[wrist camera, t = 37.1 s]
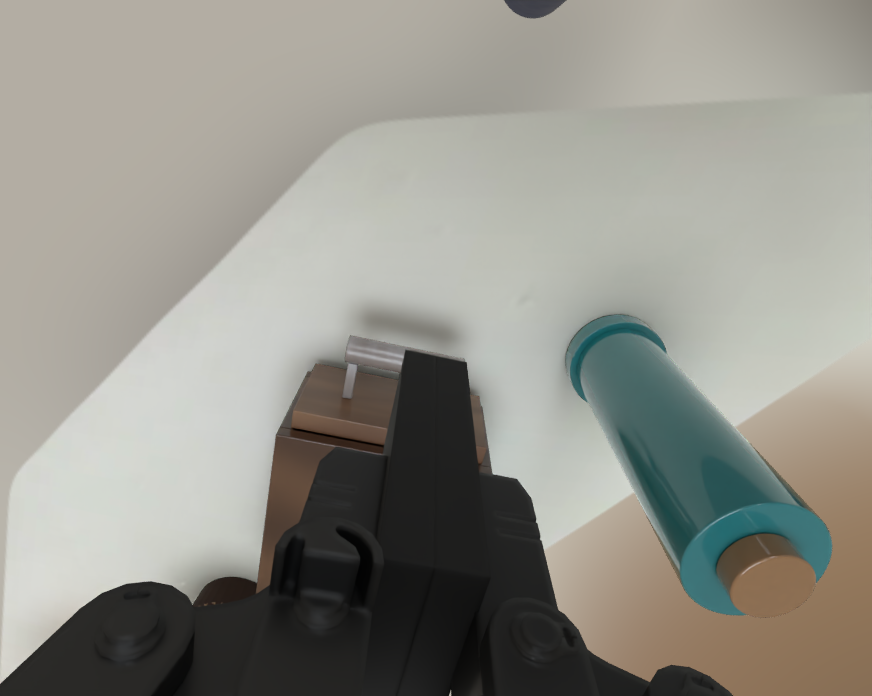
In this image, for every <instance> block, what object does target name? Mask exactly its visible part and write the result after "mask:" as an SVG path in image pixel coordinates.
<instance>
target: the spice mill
mask: <svg viewBox="0 0 872 696" xmlns="http://www.w3.org/2000/svg"><path fill="white" fill-rule="evenodd" d="M566 371H567V374H568V377H569V379H570V381H571V383H572V385H573V387H574V389H575V391H576V392H577V393H578V395H579V396H580V397H581V398H582V399H584V400H585V401H586V402H588V403H589V405H590V407H591V409H592V411H593V413H594V415H595V417H596V419H597V421H598V423H599V424H600V426H601V428H602V430H603V432H604V434H605V436H606V438H607V440H608V442H609V444H610V446H611V448H612V450H613V452H614V454H615V456H616V458H617V460H618V461H619V463H620V465H621V467H622V469H623V471H624V473H625V475H626V477H627V479H628V481H629V483H630V485H631V487H632V489H633V491H634V493H635V495H636V496H637V498H638V500H639V502H640V504H641V506H642V508H643V510H644V512H645V514H646V516H647V518H648V520H649V522H650V524H651V526H652V528H653V530H654V531H655V534H656V535H657V537H658V539H659V541H660V543H661V545H662V547H663V549H664V551H665V553H666V555H667V557H668V559H669V561H670V563H671V565H672V567H673V569H674V570H675V572H676V574H677V576H678V578H679V580H680V582H681V584H682V586H683V588H684V590H685V591H686V593H687V594H688V596H689V597H690V598H691V599H693V600H694V601H695V602H696V603H698V604H699V605H700V606H702V607H704V608H706V609H708V610H711V611H713V612H717V613H721V614H726V615H749V616H753V617H761V618H766V617H775V616H779V615H782V614H786V613H788V612H790V611H792V610H794V609H796V608H798V607H799V606H801V605H802V604H803V603H804V602H805V601H806V600H807V599H808V598H809V597H810V596H811V594H812V592H813V591H814V588H815V585H816V583H817V582H818V580H819V579H820V578H821V576H822V575H823V574H824V572H825V570H826V569H827V566H828V564H829V562H830V558H831V554H832V540H831V536H830V533H829V530H828V528H827V527H826V525H825V523H824V522H823V521H822V520H821V519H820V518H819V516H817V514H816V513H815V512H814V511H813V510H812V509H811V508H810V507H809V506H808V505H807V504H806V503H805V502H804V500H803V499H802V498H801V497H800V496H799V495H798V494H797V493H796V492H795V491H794V490H793V489H792V488H791V487H790V485H789V484H788V483H787V482H786V481H785V480H784V479H783V478H782V477H781V476H780V475H779V474H778V473H777V472H776V471H775V469H774V468H773V467H772V466H771V465H770V464H769V463H768V462H767V461H766V460H765V459H764V458H763V457H762V456H761V455H760V454H759V452H758V451H757V450H756V449H755V448H754V447H753V446H752V445H751V444H750V443H749V442H748V441H747V440H746V438H745V437H744V436H743V435H742V434H741V433H740V432H739V431H738V430H737V429H736V428H735V427H734V426H733V425H732V424H731V422H730V421H729V420H728V419H727V418H726V417H725V416H724V415H723V414H722V413H721V412H720V411H719V410H718V409H717V408H716V406H715V405H714V404H713V403H712V402H711V401H710V400H709V399H708V398H707V397H706V396H705V395H704V394H703V393H702V391H701V390H700V389H699V388H698V387H697V386H696V385H695V384H694V383H693V382H692V381H691V380H690V379H689V378H688V377H687V375H686V374H685V373H684V372H683V371H682V370H681V369H680V368H679V367H678V366H677V365H676V364H675V363H674V362H673V361H672V359H671V358H670V357H669V356H668V355H667V353H666V348H665V346H664V344H663V342H662V340H661V339H660V337H659V336H658V335H657V334H656V333H655V332H654V331H653V330H652V329H651V328H650V327H649V326H648V325H647V324H646V323H644V322H643V321H641V320H639V319H637V318H635V317H632V316H627V315H609V316H605V317H601V318H599V319H596V320H594V321H592V322H590V323H589V324H587V325H586V326H585V327H583V328H582V329H581V330H580V331H579V332H578V333H577V334H576V335H575V337H574V338H573V340H572V341H571V343H570V345H569V347H568V350H567V354H566Z"/></svg>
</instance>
